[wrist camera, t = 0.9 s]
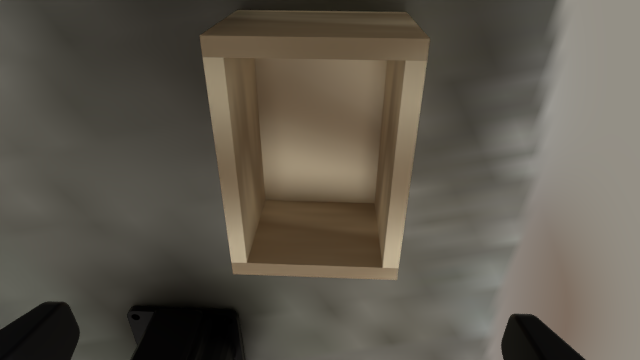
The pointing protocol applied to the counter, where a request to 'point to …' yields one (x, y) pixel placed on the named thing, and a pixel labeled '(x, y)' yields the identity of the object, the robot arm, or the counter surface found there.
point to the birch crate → (315, 137)
